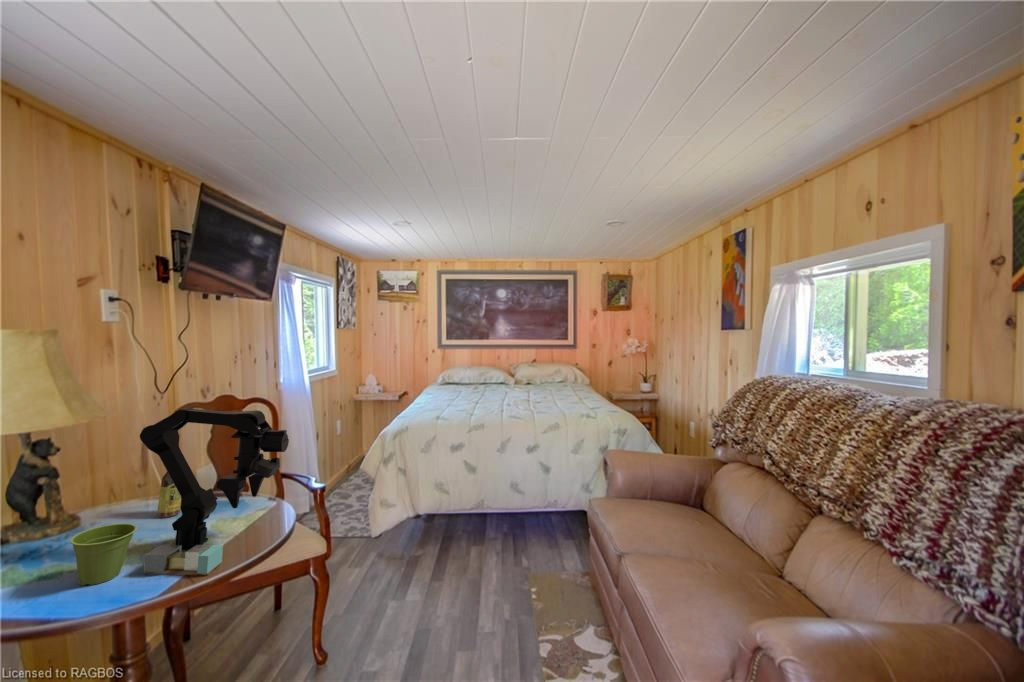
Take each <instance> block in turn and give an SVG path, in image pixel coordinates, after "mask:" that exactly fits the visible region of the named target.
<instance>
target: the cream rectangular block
mask: <svg viewBox="0 0 1024 682" xmlns="http://www.w3.org/2000/svg"><path fill="white" fill-rule="evenodd" d="M210 547H211V545H210V544H201V545H196V546H194V547H193V548H191V549H190V550H187V551H181V552H174V553H172V554H171V555H169V556H167V564H166V569H181V570H187V571H197V568H198V557H199V555H200V554H202V553H203V552H205V551H206V550H208V549H209V548H210Z"/></svg>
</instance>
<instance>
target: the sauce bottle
mask: <svg viewBox="0 0 1024 682" xmlns="http://www.w3.org/2000/svg"><path fill="white" fill-rule="evenodd" d="M159 489H160V490H159V496H158V505H157V517H158V518H161V519H164V518H170V517H175V516H178V515H179V514H180V512H181V509H180V506H181V496H180V494H179V492H178V490H177V488H176V486H175V485H174V483H173V481H172V479H171V477H170V475H169V474H168V472H167V471H166V472H165V474H164V475H163V476H162V478H161V483H160V488H159Z"/></svg>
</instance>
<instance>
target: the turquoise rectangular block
mask: <svg viewBox="0 0 1024 682" xmlns="http://www.w3.org/2000/svg"><path fill="white" fill-rule="evenodd" d="M223 551H224V545H223V544H214V545H211V546H210V548H209V549H208V550H206V551H205V552H203V553H202V554H200V555H199V557H198V568H197V573H199V574H207V573H208V572H210V571H211V570H212V569H213V568H215V567H216V566H217V565H219V564H220V563H221V564H222V561H223Z"/></svg>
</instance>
